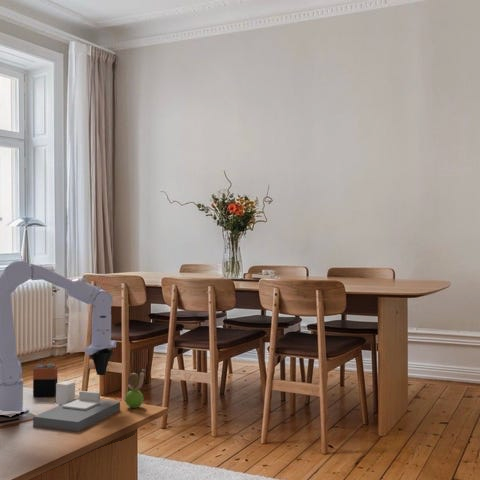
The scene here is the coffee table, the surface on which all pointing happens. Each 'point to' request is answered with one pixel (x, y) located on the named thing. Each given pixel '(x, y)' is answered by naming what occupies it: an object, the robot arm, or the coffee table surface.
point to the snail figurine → (135, 390)
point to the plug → (65, 392)
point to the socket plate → (75, 416)
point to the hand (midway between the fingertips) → (100, 374)
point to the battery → (44, 380)
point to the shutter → (84, 401)
